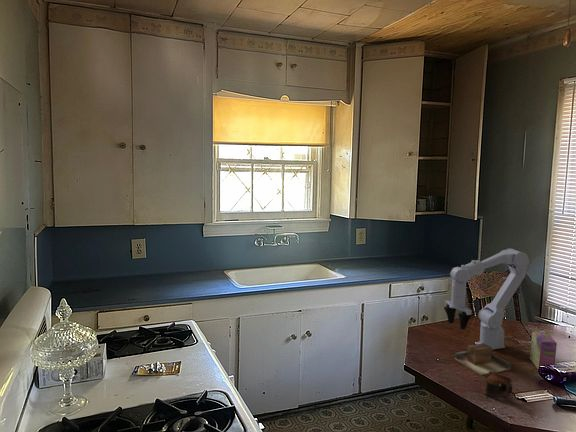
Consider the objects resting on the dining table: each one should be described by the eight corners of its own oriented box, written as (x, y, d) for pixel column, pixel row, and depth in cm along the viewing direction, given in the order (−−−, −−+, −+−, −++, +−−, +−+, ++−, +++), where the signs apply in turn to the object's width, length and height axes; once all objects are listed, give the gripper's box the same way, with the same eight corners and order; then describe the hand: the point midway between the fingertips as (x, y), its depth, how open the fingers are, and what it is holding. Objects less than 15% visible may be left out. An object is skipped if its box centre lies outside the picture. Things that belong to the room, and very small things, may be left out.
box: (554, 372, 174) (557, 342, 172) (538, 370, 175) (540, 341, 173) (545, 360, 184) (547, 332, 182) (529, 359, 185) (531, 331, 183)
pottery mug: (474, 390, 160) (481, 367, 162) (496, 400, 162) (502, 377, 164) (498, 398, 149) (505, 374, 151) (521, 409, 150) (528, 384, 152)
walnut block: (466, 360, 182) (467, 345, 181) (482, 357, 185) (483, 343, 184) (474, 364, 178) (475, 350, 177) (491, 361, 180) (491, 347, 180)
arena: (481, 354, 189) (482, 348, 189) (510, 369, 175) (510, 363, 175) (454, 358, 185) (454, 352, 184) (481, 375, 171) (481, 368, 170)
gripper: (439, 291, 200) (438, 321, 201) (462, 301, 186) (460, 332, 188) (453, 290, 202) (451, 319, 204) (476, 299, 188) (474, 330, 190)
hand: (457, 325), depth 196 cm, fingers open, 7 cm apart
